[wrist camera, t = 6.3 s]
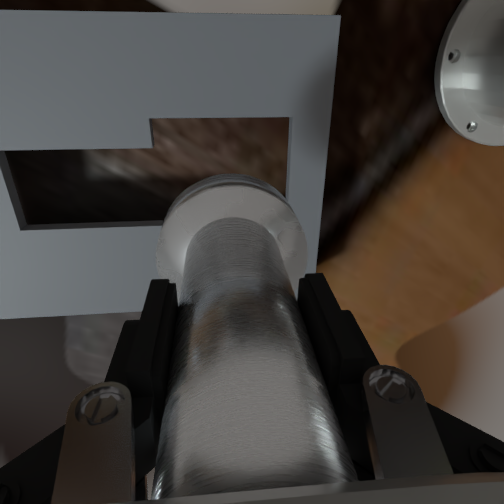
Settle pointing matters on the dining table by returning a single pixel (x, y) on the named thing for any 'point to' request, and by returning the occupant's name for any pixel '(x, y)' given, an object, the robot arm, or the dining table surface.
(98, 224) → the keyhole plate
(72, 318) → the dining table surface
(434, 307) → the dining table surface
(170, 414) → the steel peg
